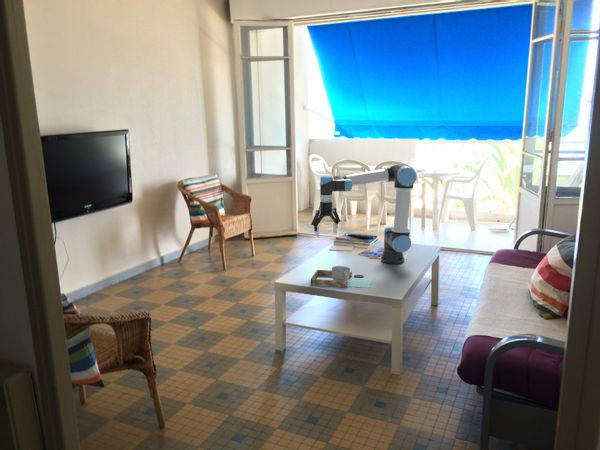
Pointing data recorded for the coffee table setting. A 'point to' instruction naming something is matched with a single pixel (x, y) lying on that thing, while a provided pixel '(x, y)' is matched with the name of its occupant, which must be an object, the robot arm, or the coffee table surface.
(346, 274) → the teacup
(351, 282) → the mat
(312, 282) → the cubby
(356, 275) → the disc
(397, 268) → the coffee table surface
